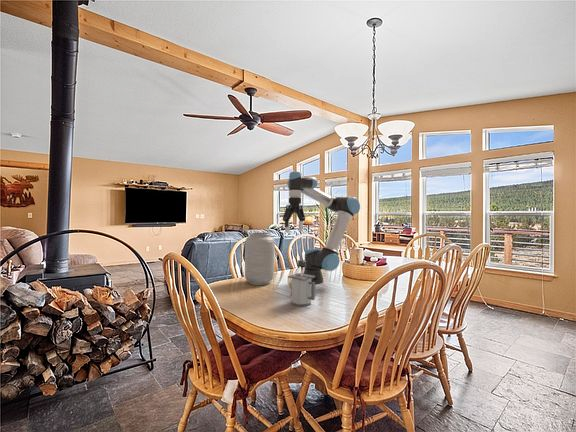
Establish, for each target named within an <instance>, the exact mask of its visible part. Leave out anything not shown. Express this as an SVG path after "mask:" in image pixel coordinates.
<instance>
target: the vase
mask: <svg viewBox="0 0 576 432" xmlns="http://www.w3.org/2000/svg"><path fill="white" fill-rule="evenodd" d="M275 242H276V241H275V238H274V237H272V236H271V233H268V232H251V233H249V236H247V237H246V238H245V242H244V277H245V280H246V281H247V282H248V284H249V285H253V286H263V285H269V284H270V282H272V281H273V279H274V277H275V260H276V259H275V257H276V256H275V254H276V253H275V252H276V251H275V250H276V246H275V245H276V243H275Z"/></svg>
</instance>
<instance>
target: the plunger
mask: <svg viewBox="0 0 576 432" xmlns="http://www.w3.org/2000/svg"><path fill="white" fill-rule="evenodd" d="M297 267H299V268H300V273H301V276H302V277H303V273H304V271H303V270H304V269H303V268H305V267H306V261H305V259H299V260H297Z"/></svg>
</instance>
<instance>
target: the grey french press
mask: <svg viewBox="0 0 576 432" xmlns="http://www.w3.org/2000/svg"><path fill="white" fill-rule="evenodd" d="M287 278H289V279H291V280H292V287H291V296H290V297H291V301H290V303H291V305H293V306H296V307H308V306H311V303H312V301H315V299H316V298H315V297H316V284H315V282H311V279H312V278H315V276H313V275H308V274H303V277H302V276H301V272H298V273H295V274H290V275H288V276H287Z"/></svg>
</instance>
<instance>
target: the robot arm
mask: <svg viewBox="0 0 576 432" xmlns="http://www.w3.org/2000/svg"><path fill="white" fill-rule="evenodd" d="M287 187H288V204H286V206H285V211H284V214H283V217H282V221H283V222H284V227H285V228H284V233H286V234H287V233H290V229H291V228H290V227H291V226H290V225H291V224H290V223H291V222H290V219H291V217H292V216H293V214H294V213H295V214H296V216H297V218H298V219H299V220H298V229H297V230H298V232H301V233H302V232H304V231H303V230H304V222H305V221H306V216H305V212H304V206H303V205H302V194H303V195H304V196H307V197H308V198H310V199H312V200H313V201H316V202H318V203H319V204H321V205H323V207H325V208H326V209H328V210H330V211H332V212H334V213H336V214H337V216H336V219H335V222H334V224H333V227H332V229H331V232H330V234H329V237H328V239H327V242H326V244H325V246H323V247H322V248H307V249H305V251H304V260H305V261H306V267H304V269H303V270H304V271H303V274H308V275H313V276H315V278H312V279H311V282H315V285H317V284H322V283H323V284H324V276H323V273H322V270H323V271H329V272H333V271H335V270H336V269H337V268H338V267H339V266H340V257H339V255H340V254H339V251H338V250H339V249H340V245H341V243H342V241H343V239H344V235H345V232H346V230H347V228H348V226H349V222H350V220H352V219H353V218H354V216H355V215H357V214H358V213H359V212H360V210H361V205H360V204H361V203H360V201H359V199H358V198H357V197H355V196H334V195H332V194H327V193H326V192H323V191H321V190H320V189H318V188H317V187H318V179H317V177H316V176H315V177H314V176H306V175H303V173H302V172H301V171H290V172H289V176H288V180H287ZM300 204H301V205H300Z"/></svg>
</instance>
